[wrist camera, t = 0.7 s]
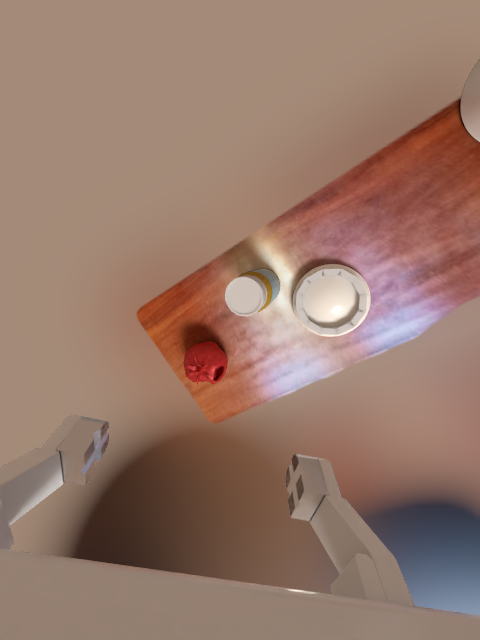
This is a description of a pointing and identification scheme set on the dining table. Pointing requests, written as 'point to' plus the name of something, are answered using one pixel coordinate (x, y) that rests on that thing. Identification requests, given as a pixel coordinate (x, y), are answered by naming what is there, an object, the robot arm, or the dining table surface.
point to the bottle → (252, 292)
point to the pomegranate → (205, 362)
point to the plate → (331, 300)
